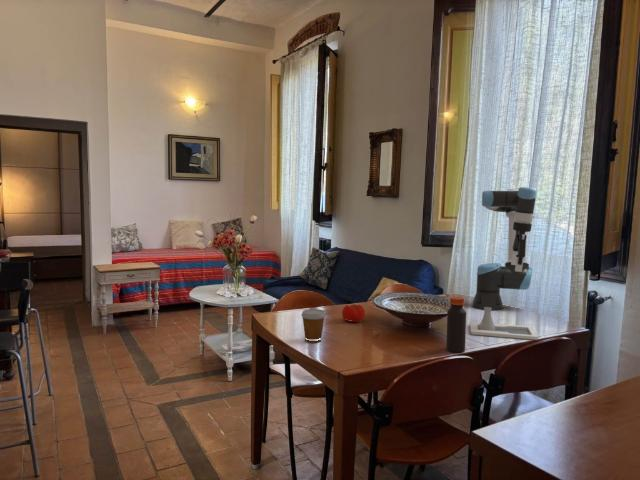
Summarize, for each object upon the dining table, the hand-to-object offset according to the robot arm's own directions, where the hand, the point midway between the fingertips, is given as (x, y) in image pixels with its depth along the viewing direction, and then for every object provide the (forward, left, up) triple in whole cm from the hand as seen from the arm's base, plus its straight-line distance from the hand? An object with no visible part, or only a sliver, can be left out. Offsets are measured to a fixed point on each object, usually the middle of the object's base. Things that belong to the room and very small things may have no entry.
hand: (516, 268), depth 210 cm
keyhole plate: (+17, -6, -26) cm, 31 cm away
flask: (+17, -13, -26) cm, 33 cm away
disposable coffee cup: (+53, -80, -26) cm, 100 cm away
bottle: (+48, -26, -26) cm, 60 cm away
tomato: (+18, -71, -26) cm, 78 cm away
